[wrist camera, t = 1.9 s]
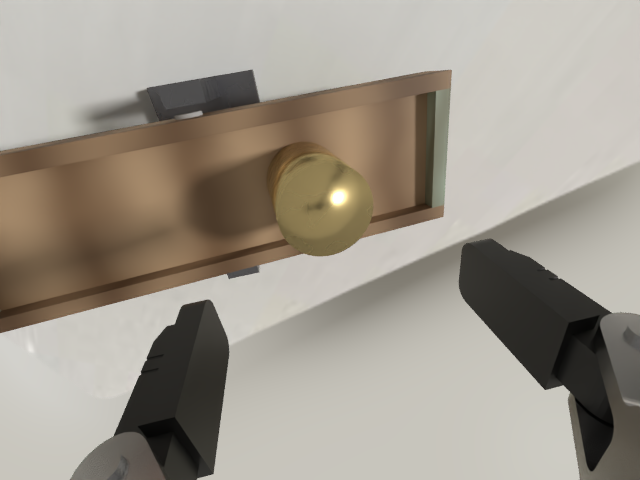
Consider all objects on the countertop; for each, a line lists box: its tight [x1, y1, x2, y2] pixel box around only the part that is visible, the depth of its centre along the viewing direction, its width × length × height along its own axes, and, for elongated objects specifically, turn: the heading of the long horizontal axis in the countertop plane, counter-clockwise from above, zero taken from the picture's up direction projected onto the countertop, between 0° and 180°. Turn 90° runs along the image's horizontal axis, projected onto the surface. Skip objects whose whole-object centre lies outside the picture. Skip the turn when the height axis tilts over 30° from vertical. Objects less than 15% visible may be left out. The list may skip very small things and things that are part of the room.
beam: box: [0, 70, 452, 333], centre depth 20 cm, size 32×10×3 cm, turn 99°
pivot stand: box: [147, 70, 260, 279], centre depth 24 cm, size 8×14×8 cm, turn 9°
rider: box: [266, 142, 373, 256], centre depth 18 cm, size 5×5×6 cm
